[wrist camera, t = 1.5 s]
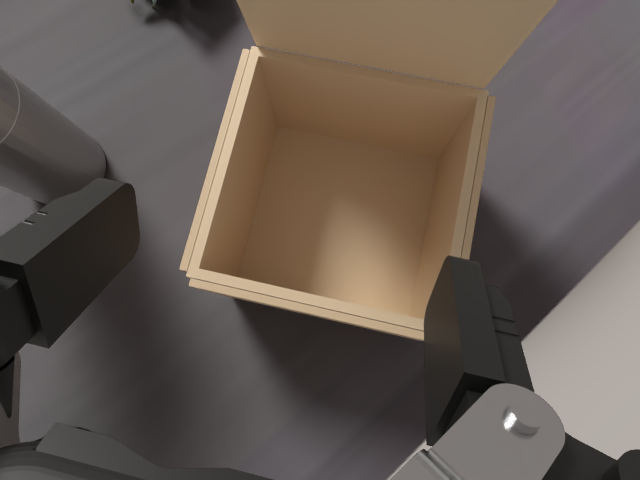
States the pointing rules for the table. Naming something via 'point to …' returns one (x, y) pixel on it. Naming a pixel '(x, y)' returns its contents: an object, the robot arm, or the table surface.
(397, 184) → the carton
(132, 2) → the passion flower
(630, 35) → the table surface
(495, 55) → the carton flap
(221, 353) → the table surface
